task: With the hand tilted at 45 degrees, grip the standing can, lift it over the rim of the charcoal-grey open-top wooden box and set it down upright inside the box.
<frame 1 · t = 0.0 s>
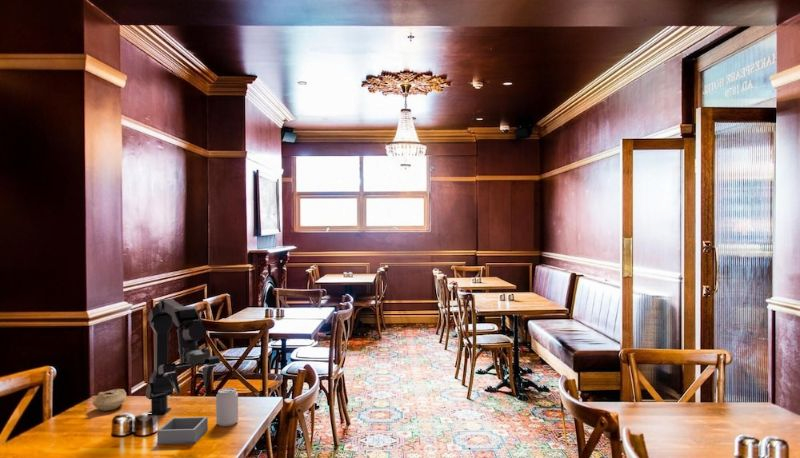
hand: (192, 390, 173), 15 cm above the table, tool pointing down, fingers open, 9 cm apart
can: (227, 423, 186), on the table
oil lamp: (110, 408, 205), on the table
open box: (183, 437, 173), on the table
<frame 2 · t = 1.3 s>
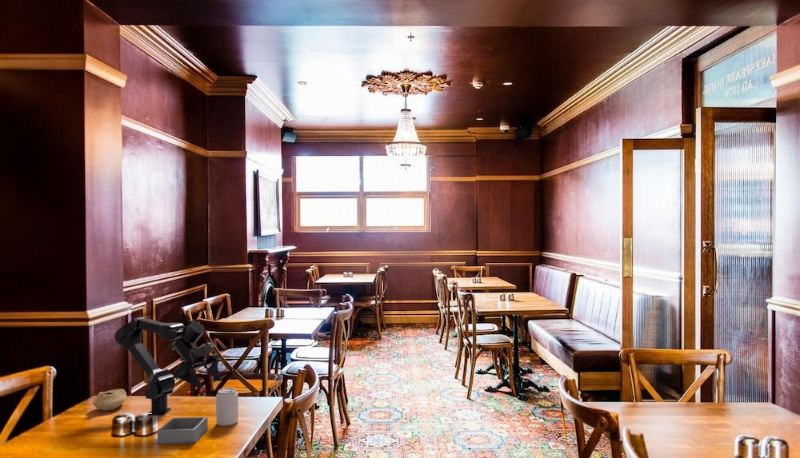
hand: (210, 383, 189), 13 cm above the table, tool tilted 45°, fingers open, 9 cm apart
nothing on the table moved.
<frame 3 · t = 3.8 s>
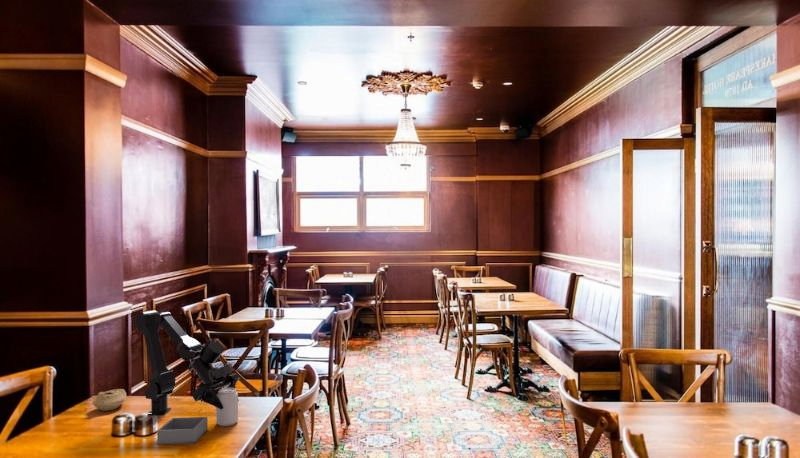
hand: (230, 405, 185), 7 cm above the table, tool tilted 45°, fingers closed on can, 7 cm apart
can: (227, 423, 186), on the table, touching gripper
everything else where it was.
when the fingers open (9 cm above the table, at t = 8.6 s): can drops 1 cm, resting on open box.
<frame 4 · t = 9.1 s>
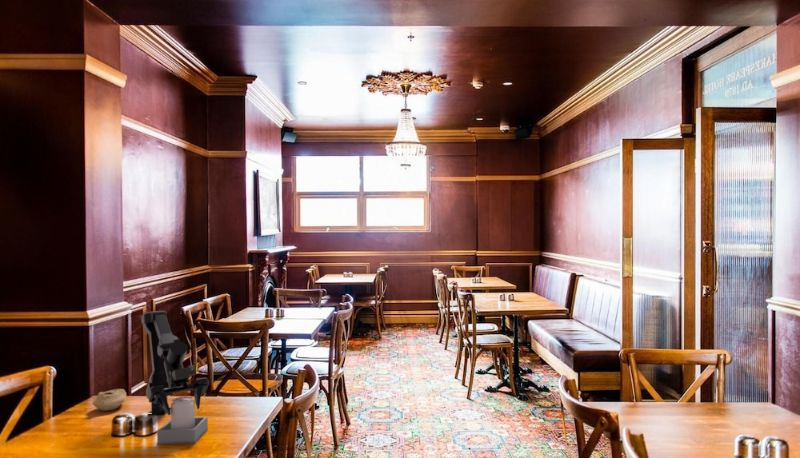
hand: (184, 411, 172), 9 cm above the table, tool tilted 45°, fingers open, 9 cm apart
can: (183, 435, 174), point 1 cm above the table, touching open box
everything else where it was.
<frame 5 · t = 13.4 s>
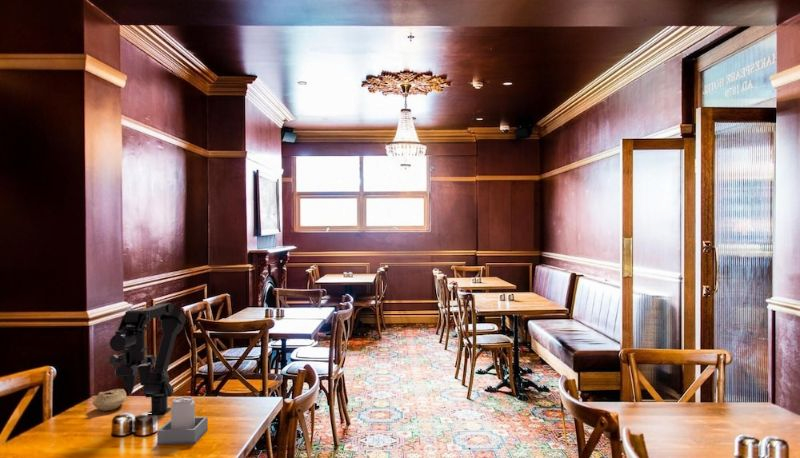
hand: (136, 389, 185), 13 cm above the table, tool pointing down, fingers open, 9 cm apart
nothing on the table moved.
at the end: can 0.2 cm off-centre on the open box, point 0.6 cm above the open box's base; can tilted 0°; the gripper is holding nothing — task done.
